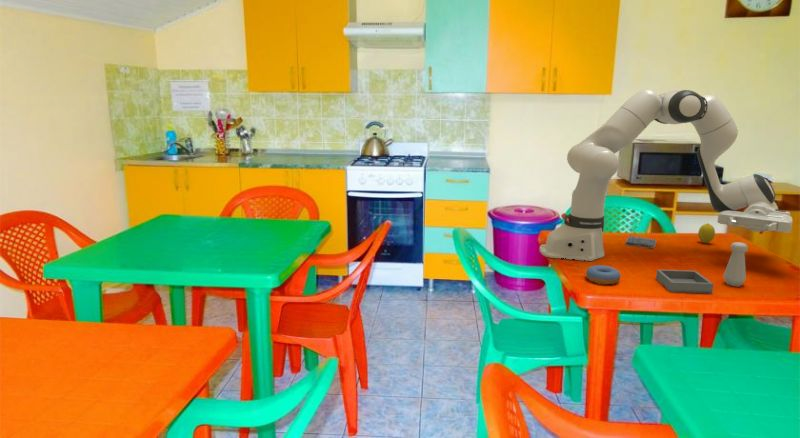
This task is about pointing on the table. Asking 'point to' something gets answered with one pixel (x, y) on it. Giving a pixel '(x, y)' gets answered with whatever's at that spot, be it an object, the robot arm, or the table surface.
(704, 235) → the lemon
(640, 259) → the table surface
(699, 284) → the tray
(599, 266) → the doughnut
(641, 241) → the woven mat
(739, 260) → the salt shaker
